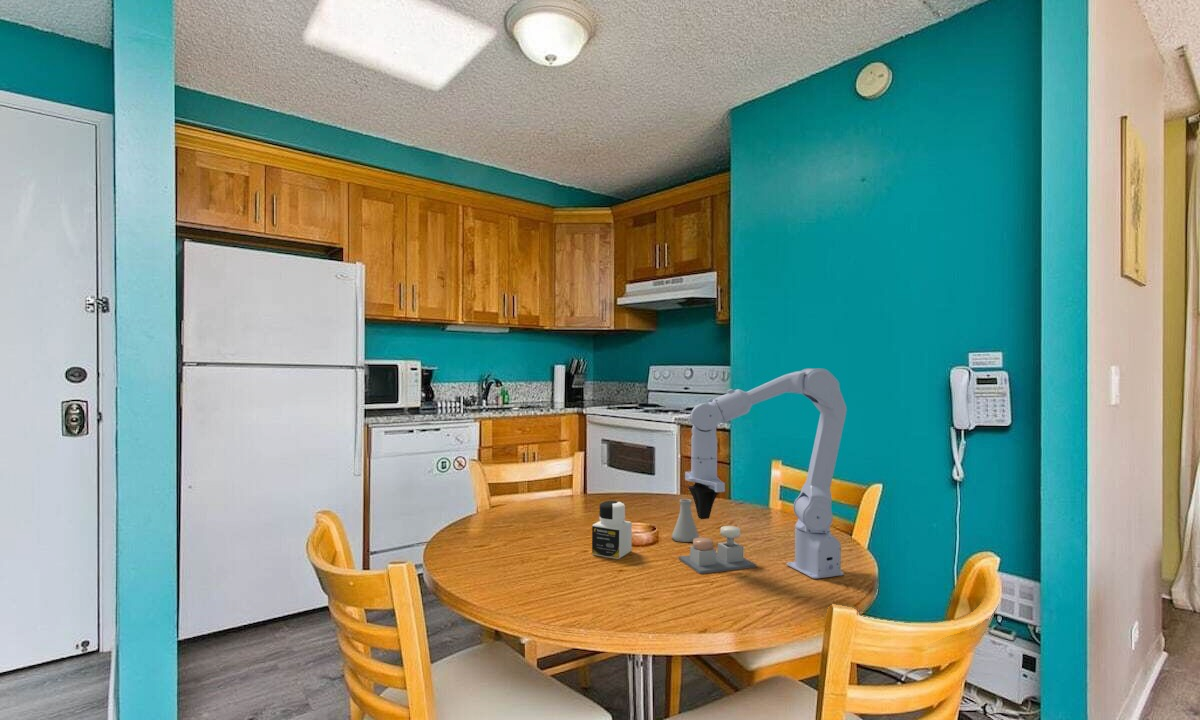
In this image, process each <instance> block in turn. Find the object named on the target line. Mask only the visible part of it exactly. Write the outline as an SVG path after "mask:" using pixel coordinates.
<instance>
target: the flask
mask: <svg viewBox="0 0 1200 720" xmlns="http://www.w3.org/2000/svg"><path fill="white" fill-rule="evenodd" d="M678 501H679V503H680V508H679V514H678V518H677V520H676V523H675V526H674V529H673V532H672V534H671V536H670V537H671V539H672V540H673V541H675V542H681V543H693V539H695V538H700V536H699V533H698V530H697V527H696V524H695V521H694V517H693V511H692V508H691V507H692V503H693V500H692V499H690V498H689V499H688V498H681V499H679V500H678Z"/></svg>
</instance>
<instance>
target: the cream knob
mask: <svg viewBox="0 0 1200 720" xmlns="http://www.w3.org/2000/svg"><path fill="white" fill-rule="evenodd" d="M720 536H721V537H724V538H726V542H727V547H734V542H735V539H736V538H740V537H741V528H740V527H739V526H734V525H733V526H732V525H724V526H723V525H722V526H721V527H720Z"/></svg>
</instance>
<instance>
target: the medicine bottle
mask: <svg viewBox="0 0 1200 720" xmlns="http://www.w3.org/2000/svg"><path fill="white" fill-rule="evenodd" d="M598 516H599V521H597V522H594V523H593V524H592V526H591V529H592V530H591V531H592V533H591V534H592V535H591V554H592V555H593V556H597V557H598V556H599V557H604V558H607V559H608V558H609V559H613V560H615V559H616V560H619V559H621V558H623V557H624V556H626V555H627V554H629V553H630V552H632V539H633V538H632V531H633V530H632V529H633V528H632V527H633V526H632V521H629V520H628V521H627V520H626V505H625V504H624V502H623V503H622V501H619V500H606V501H603V502H601V503H600V504H599V515H598Z"/></svg>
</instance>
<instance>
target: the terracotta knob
mask: <svg viewBox="0 0 1200 720" xmlns="http://www.w3.org/2000/svg"><path fill="white" fill-rule="evenodd" d="M692 546H693V547H694V548H695V549H698V550H711V549H713V548H714V540H713V539H711V538H708V537H699V538H695V539H693V542H692Z"/></svg>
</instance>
